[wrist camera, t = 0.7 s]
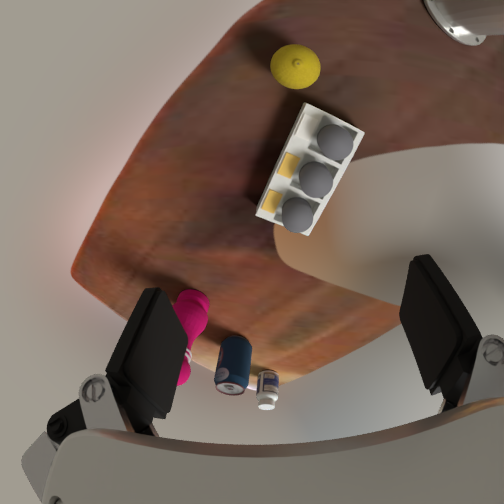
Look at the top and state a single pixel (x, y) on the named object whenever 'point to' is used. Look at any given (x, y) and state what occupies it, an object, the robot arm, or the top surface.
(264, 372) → the pill bottle
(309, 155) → the button board
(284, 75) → the lemon
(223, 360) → the soda can
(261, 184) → the top surface
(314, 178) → the middle button
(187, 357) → the pepper mill
